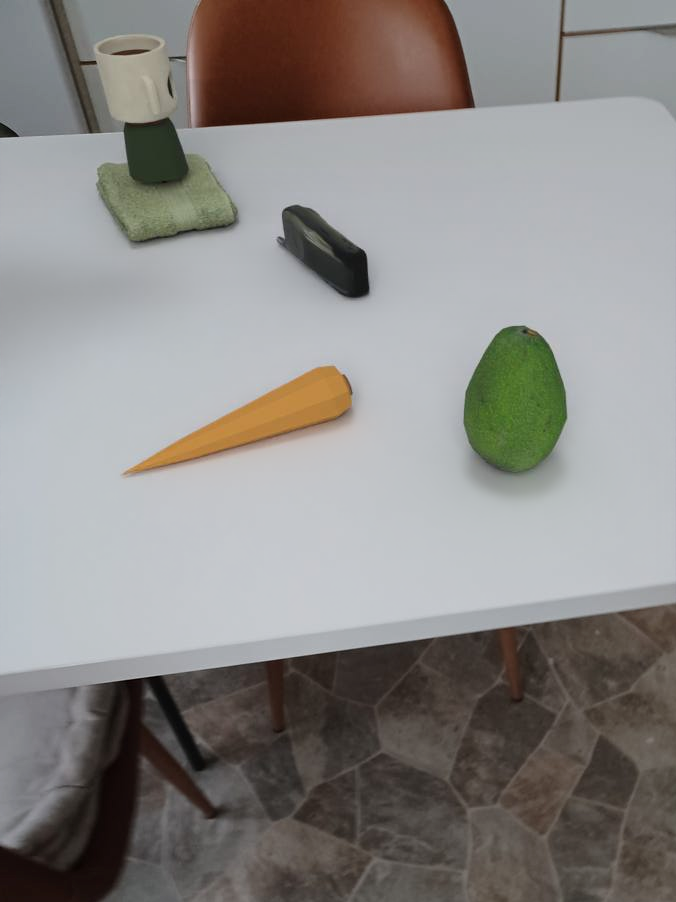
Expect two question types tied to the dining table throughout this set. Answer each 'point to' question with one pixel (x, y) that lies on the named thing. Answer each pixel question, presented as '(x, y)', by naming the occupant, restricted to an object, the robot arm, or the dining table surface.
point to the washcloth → (165, 200)
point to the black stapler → (325, 250)
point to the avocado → (515, 401)
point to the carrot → (264, 417)
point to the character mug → (143, 104)
